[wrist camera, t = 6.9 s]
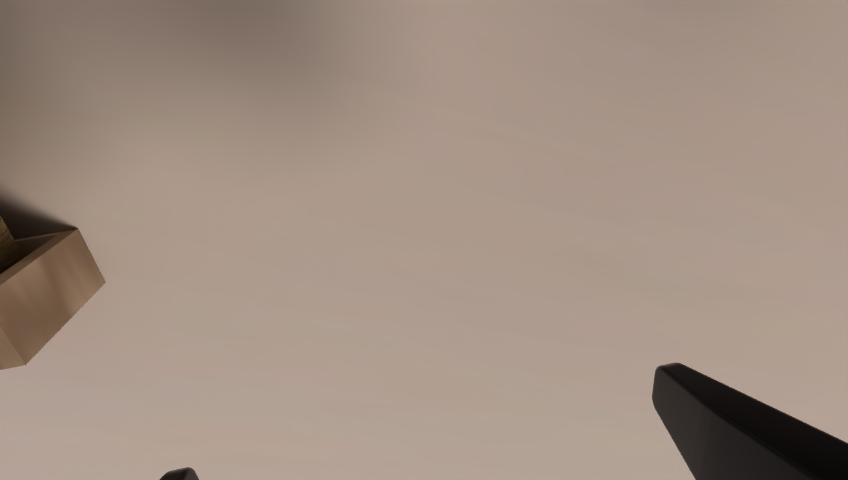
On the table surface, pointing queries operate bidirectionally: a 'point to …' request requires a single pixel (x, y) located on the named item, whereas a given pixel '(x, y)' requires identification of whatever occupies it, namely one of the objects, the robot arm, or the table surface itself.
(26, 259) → the socket block
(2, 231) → the gold elongated piece
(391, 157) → the table surface
